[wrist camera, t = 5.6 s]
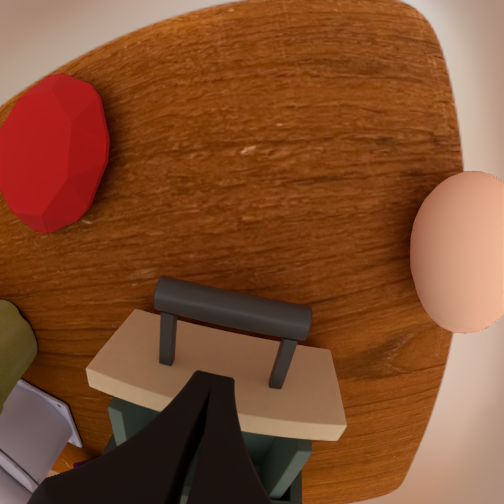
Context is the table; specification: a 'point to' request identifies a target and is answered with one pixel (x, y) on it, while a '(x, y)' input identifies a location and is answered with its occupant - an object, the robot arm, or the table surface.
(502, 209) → the egg
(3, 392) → the plant pot
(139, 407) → the drawer
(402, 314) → the table surface
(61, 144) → the gemstone
